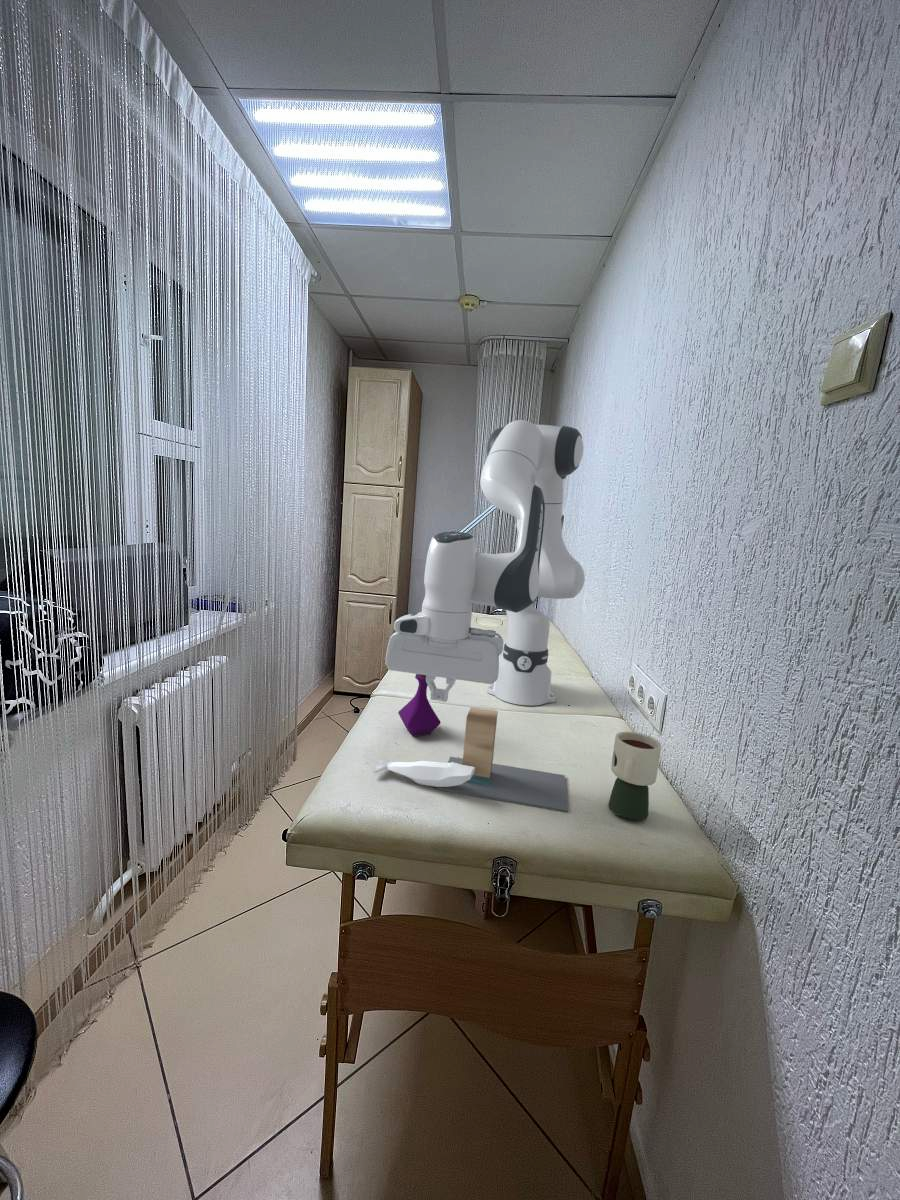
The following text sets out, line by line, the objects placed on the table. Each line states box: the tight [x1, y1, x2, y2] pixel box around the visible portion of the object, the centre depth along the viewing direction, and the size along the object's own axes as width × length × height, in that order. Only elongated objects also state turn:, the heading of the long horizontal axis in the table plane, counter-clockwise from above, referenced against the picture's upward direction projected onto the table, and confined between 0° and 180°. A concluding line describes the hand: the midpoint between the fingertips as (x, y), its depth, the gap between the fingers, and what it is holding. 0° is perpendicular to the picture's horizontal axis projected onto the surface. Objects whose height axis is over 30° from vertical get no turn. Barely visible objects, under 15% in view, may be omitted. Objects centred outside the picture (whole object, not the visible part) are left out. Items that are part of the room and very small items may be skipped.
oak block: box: [462, 706, 499, 786], centre depth 90 cm, size 5×5×12 cm
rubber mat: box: [437, 756, 569, 813], centre depth 90 cm, size 12×22×1 cm, turn 80°
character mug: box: [607, 731, 662, 821], centre depth 83 cm, size 11×7×13 cm, turn 147°
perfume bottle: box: [397, 674, 441, 737], centre depth 108 cm, size 8×8×18 cm
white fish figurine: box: [372, 757, 476, 788], centre depth 87 cm, size 6×18×4 cm, turn 71°
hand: (439, 699), depth 90 cm, fingers closed
